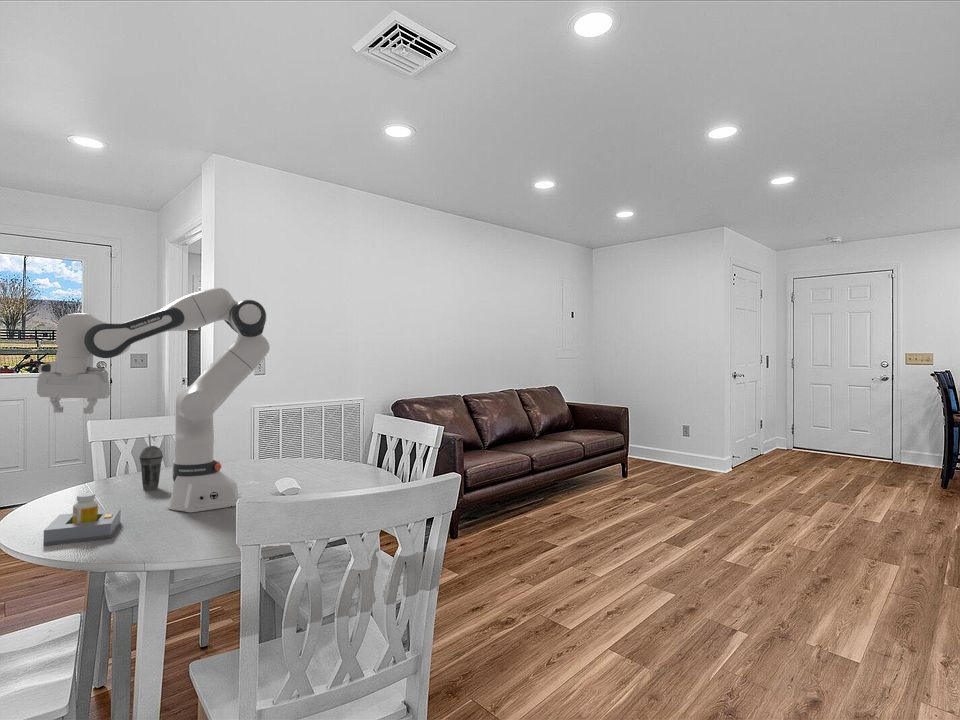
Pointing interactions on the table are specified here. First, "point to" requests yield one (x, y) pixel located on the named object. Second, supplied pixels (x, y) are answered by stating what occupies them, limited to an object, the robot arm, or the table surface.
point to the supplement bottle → (85, 508)
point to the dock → (81, 528)
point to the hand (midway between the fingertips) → (73, 413)
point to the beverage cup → (150, 466)
